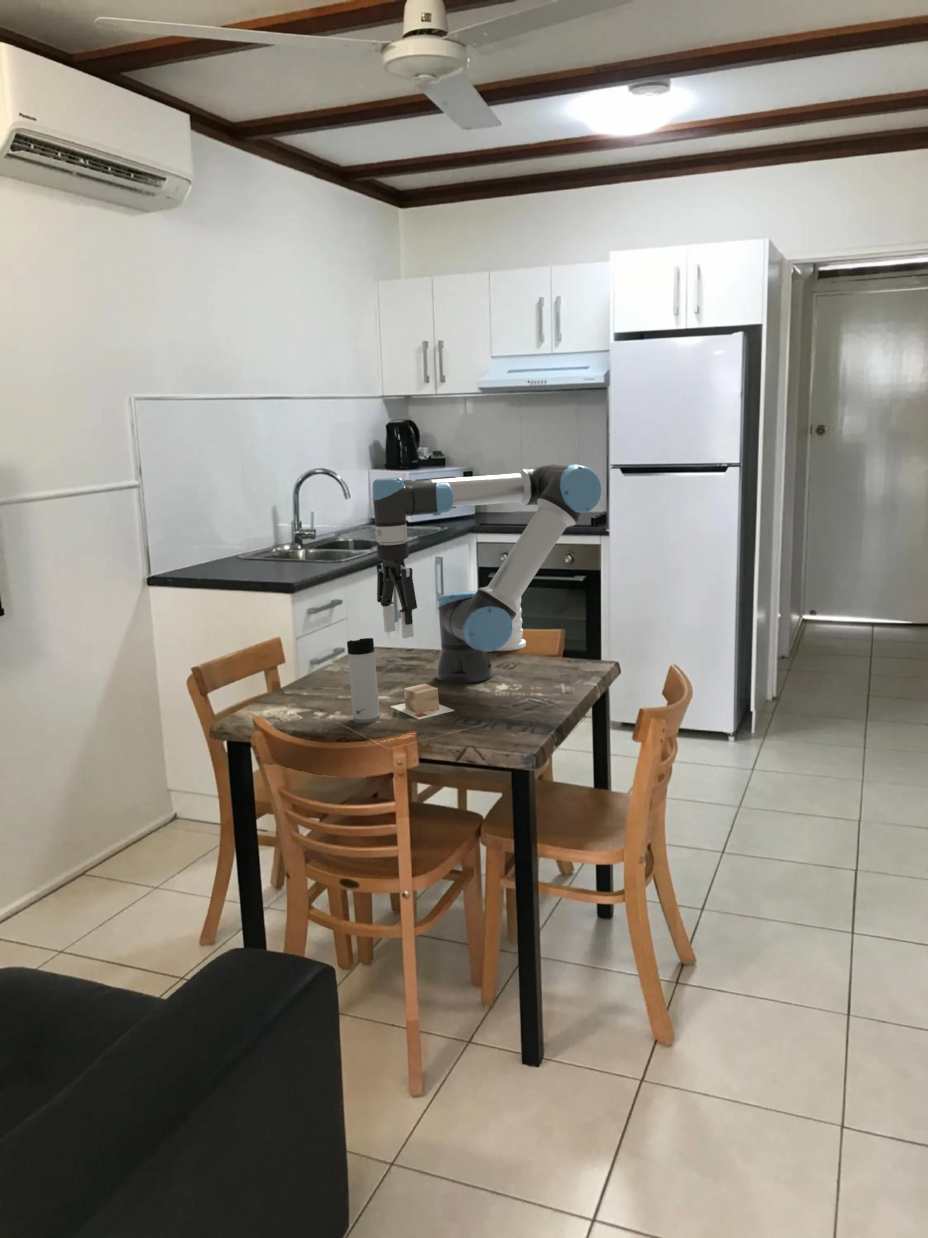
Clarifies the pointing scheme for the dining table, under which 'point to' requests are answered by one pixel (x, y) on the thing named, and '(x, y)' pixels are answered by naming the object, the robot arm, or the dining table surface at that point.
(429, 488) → the robot arm
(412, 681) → the dining table surface
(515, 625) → the decorative container
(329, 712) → the dining table surface
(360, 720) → the travel mug
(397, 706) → the letter
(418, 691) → the oak block
